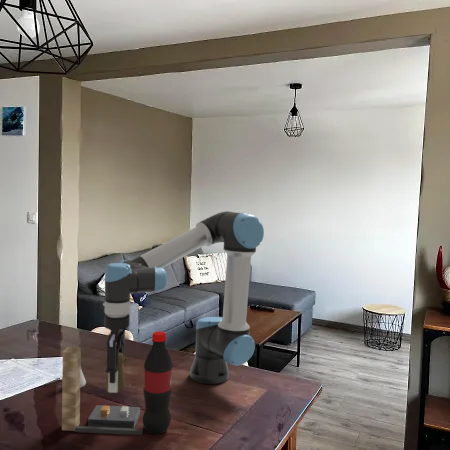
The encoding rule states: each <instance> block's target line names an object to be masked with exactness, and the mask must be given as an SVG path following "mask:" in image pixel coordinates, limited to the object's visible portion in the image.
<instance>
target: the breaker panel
mask: <svg viewBox="0 0 450 450" xmlns="http://www.w3.org/2000/svg"><path fill="white" fill-rule="evenodd" d="M140 414H141V407H139V406H127V405H125V406H123V405H122V406H121V405H103V404H101V405H99V404H97V405H95V406H94V408H93V410H92V412H91V413H90V415H89V417H88V419H87V426H88V427H109V428H131V429H136V426H137V422H138V420H139V418H140Z"/></svg>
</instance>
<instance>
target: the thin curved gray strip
mask: <svg viewBox="0 0 450 450" xmlns="http://www.w3.org/2000/svg"><path fill="white" fill-rule="evenodd" d="M143 431H144V429H143V428H134V429H131V428H109V427H88V425H87V426H86V425H85V426H83V425H82V426H81V425H79V426H76V427H75V431H74V432H75V433H87V434H88V433H92V434H93V433H94V434H109V433H110V434H113V435H115V434H116V435H130V436H131V435H134V436H139V435H140V436H143V433H144V432H143Z"/></svg>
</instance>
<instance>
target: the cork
mask: <svg viewBox="0 0 450 450" xmlns="http://www.w3.org/2000/svg"><path fill="white" fill-rule="evenodd" d="M124 359H126V358H125V357H124V355H123V354H122V353H120V352H119V353H118V365H117V371H118V392H117V393H120V392H123V391H124V390H125V389H126V383H125V375H124V373H125V372H124V363H125V362H124ZM104 389H105V391H107V392H108V373H107V376H106V382H105V388H104Z"/></svg>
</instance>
